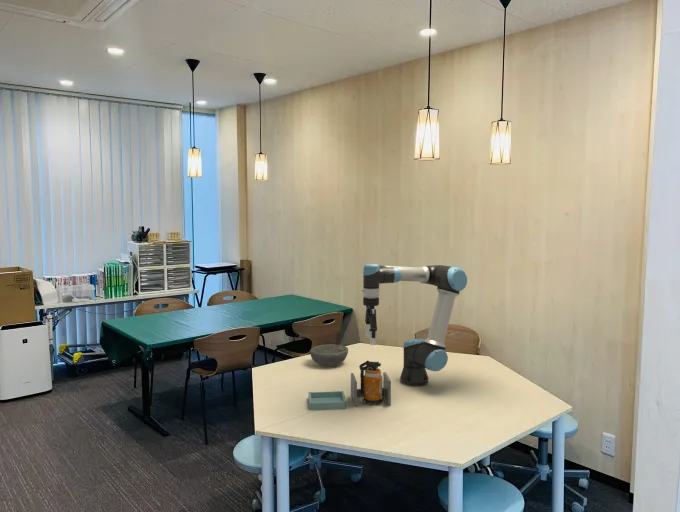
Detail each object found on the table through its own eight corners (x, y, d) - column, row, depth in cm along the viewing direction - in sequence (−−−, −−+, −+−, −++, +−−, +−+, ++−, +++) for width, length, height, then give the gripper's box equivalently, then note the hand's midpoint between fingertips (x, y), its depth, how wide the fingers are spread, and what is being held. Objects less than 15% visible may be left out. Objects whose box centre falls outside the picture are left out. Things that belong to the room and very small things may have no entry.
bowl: (314, 358, 329) (314, 342, 328) (350, 359, 326) (350, 343, 325) (306, 369, 307) (306, 352, 306) (345, 371, 303) (345, 354, 303)
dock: (385, 395, 264) (385, 372, 263) (390, 405, 250) (391, 380, 249) (350, 396, 262) (350, 373, 261) (354, 407, 249) (354, 382, 247)
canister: (380, 406, 250) (381, 364, 248) (357, 404, 252) (357, 363, 250) (383, 399, 259) (383, 359, 257) (360, 397, 261) (360, 357, 259)
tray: (343, 397, 262) (343, 391, 261) (346, 408, 247) (346, 402, 246) (308, 398, 260) (308, 392, 260) (310, 409, 245) (309, 403, 245)
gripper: (359, 292, 263) (359, 334, 265) (367, 301, 238) (366, 347, 240) (374, 292, 264) (374, 334, 265) (383, 301, 239) (383, 347, 241)
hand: (370, 341), depth 253 cm, fingers open, 13 cm apart
